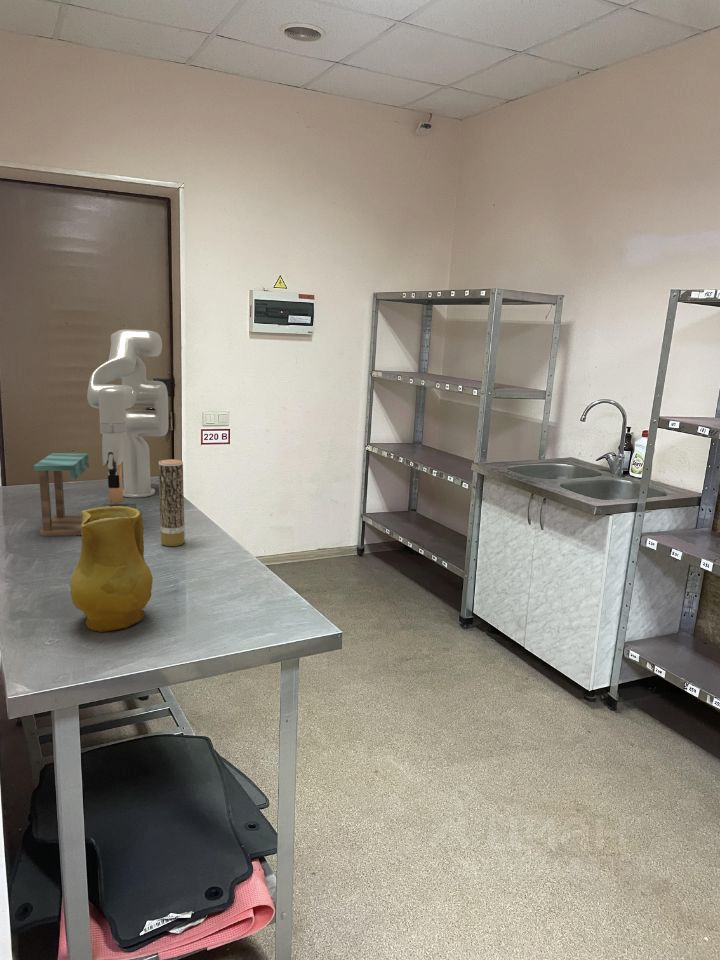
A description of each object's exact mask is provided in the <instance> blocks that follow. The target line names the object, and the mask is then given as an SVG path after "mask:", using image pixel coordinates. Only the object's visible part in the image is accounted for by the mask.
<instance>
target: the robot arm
mask: <svg viewBox="0 0 720 960" xmlns="http://www.w3.org/2000/svg"><path fill="white" fill-rule="evenodd" d="M162 349H163V340H162V337H161V335H160V334H159V333H158V332H156V331H152V330H147V329H120V330H119V329H118V330H117V331H116V332H113V333H112V334H111V335H110V350H109V357H108V360H107V361H105V362H104V363H102V364H100V365H99V366H98V367H97V368H95V370H94V371H93V372H92V373H91V375H90V378H89V382H88V387H87V395H86V397H87V403H88V404H89V406H91V407H92V408H94V409H99V413H98V414H99V433H100V435H101V434H102V441H101V442H102V443H101V445H102V446H101V450H102V452H101V455H102V456H101V457H102V458H101V465H102V466H103V467H106V466H107V484H108V489H109V488H119V487H120V484H119V475H118V465H120V464H121V463H122V474H123V479H122V485H123V498H124V497H125V498H145V497H149V496H153V495H155V493H156V489H155V488H153V487H151V462H150V461H151V460H150V458H151V457H150V454H151V453H150V447H149V444H148V443H147V441H146V440H145V439H144V437H164V436H165V435H167V434H168V431H169V426H170V425H169V392H168V389H167V385H166V384H165V383H164V382H163V381H160V380H148V379H147V367H146V364H145V362H143V360H142V359H141V357H159V356H160V355H161V353H162V351H163V350H162ZM119 379H121V384H111V383H110V384H108V383H109V382H113V381H116V380H119ZM132 407H143V408H144V407H150V408H154V409H155V410H153V409H152V410H150V409H149V410H148V409H147V410H144V409H131V408H132ZM113 463H116V464H115V465H113ZM113 467H115V468H113Z"/></svg>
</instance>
